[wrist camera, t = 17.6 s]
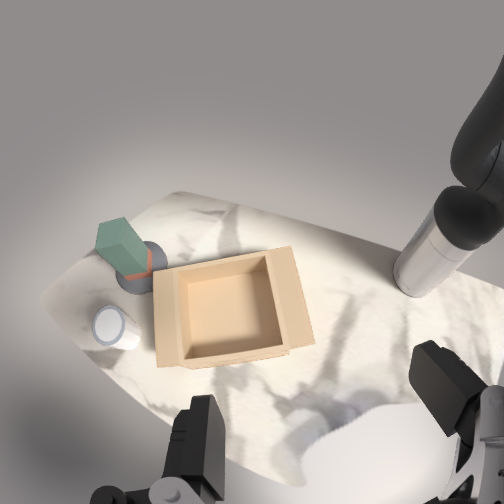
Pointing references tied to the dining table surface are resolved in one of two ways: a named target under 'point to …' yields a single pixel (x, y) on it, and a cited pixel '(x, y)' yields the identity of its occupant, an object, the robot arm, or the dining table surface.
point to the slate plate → (147, 283)
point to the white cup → (115, 329)
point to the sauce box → (124, 249)
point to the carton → (230, 310)
